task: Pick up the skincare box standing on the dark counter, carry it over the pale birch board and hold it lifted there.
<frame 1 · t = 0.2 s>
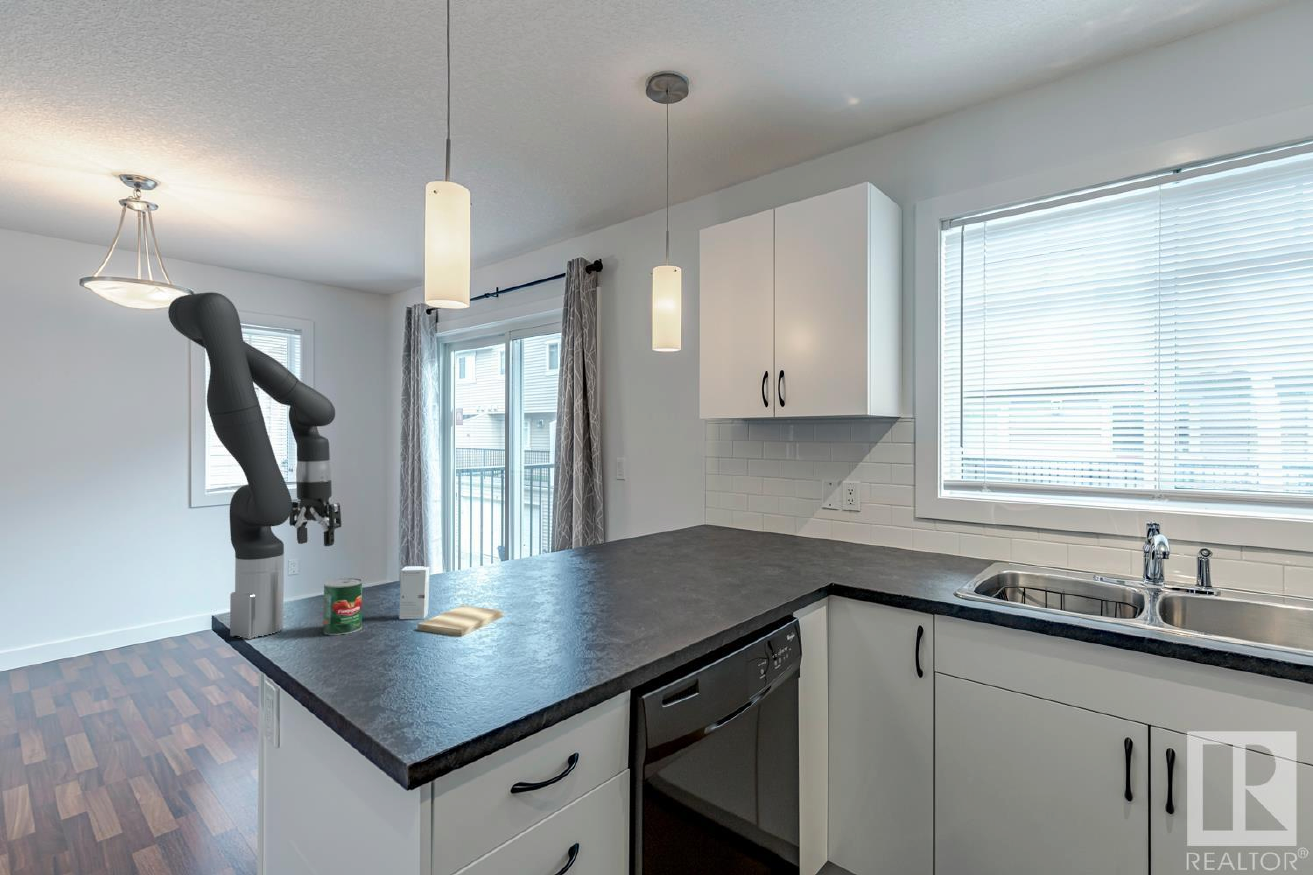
hand: (315, 544, 151), 17 cm above the countertop, tool pointing down, fingers open, 8 cm apart
birch board: (461, 623, 146), on the countertop
skincare box: (414, 617, 151), on the countertop
canned tomato: (342, 630, 140), on the countertop
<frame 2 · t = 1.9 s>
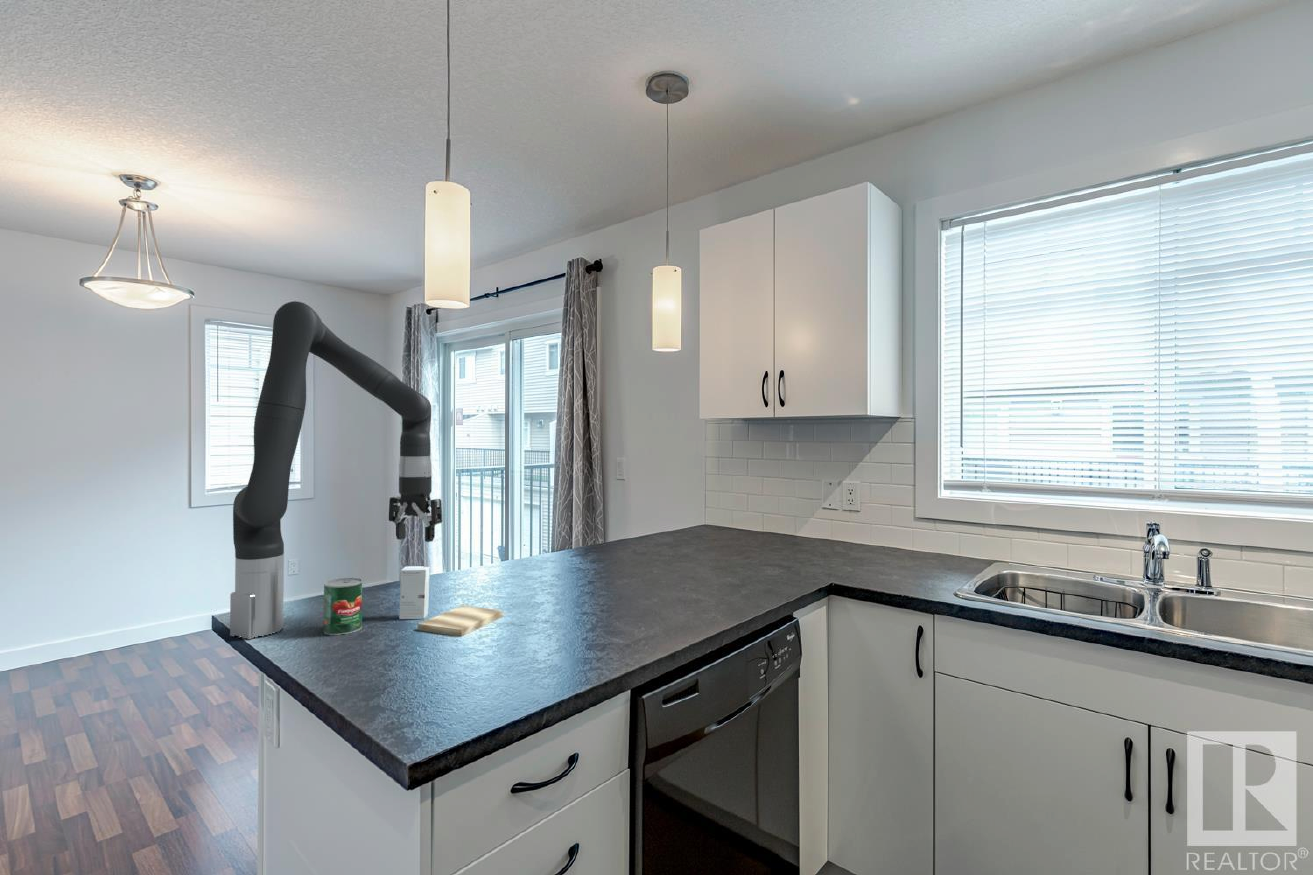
hand: (415, 540, 151), 19 cm above the countertop, tool pointing down, fingers open, 8 cm apart
nothing on the countertop moved.
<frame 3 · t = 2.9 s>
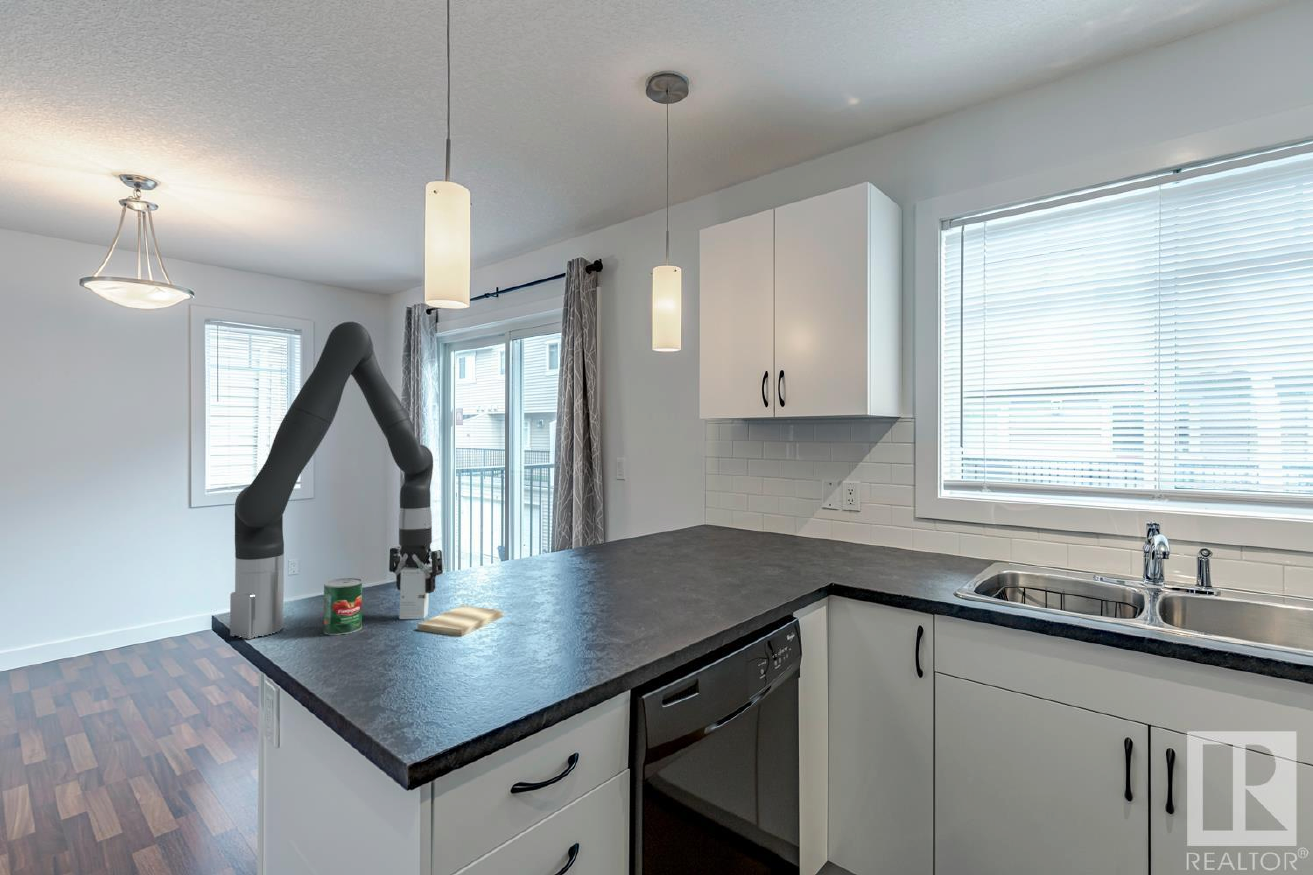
hand: (415, 591, 151), 6 cm above the countertop, tool pointing down, fingers open, 8 cm apart
nothing on the countertop moved.
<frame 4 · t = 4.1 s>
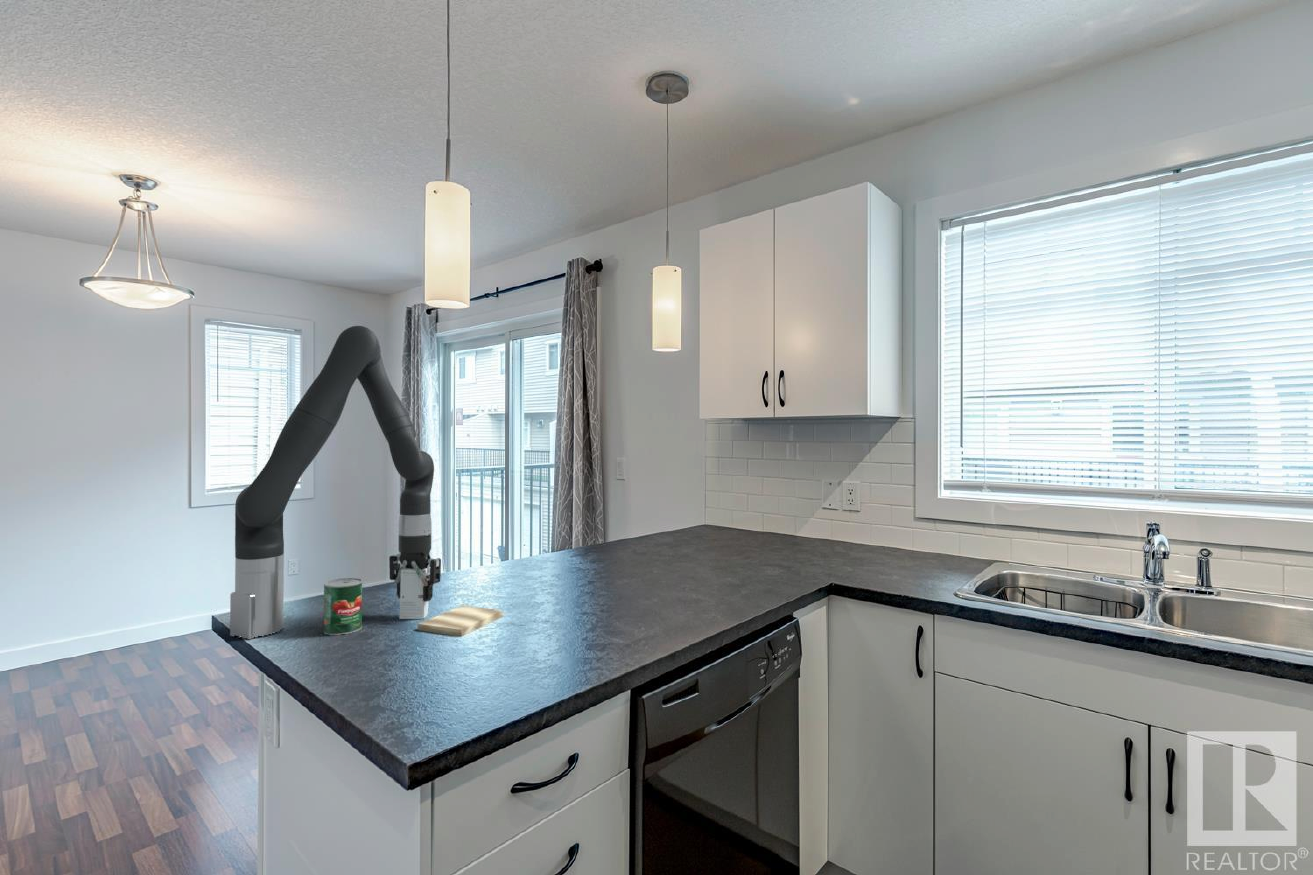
hand: (414, 599, 151), 4 cm above the countertop, tool pointing down, fingers closed on skincare box, 7 cm apart
skincare box: (414, 617, 151), on the countertop, touching gripper
everything else where it was.
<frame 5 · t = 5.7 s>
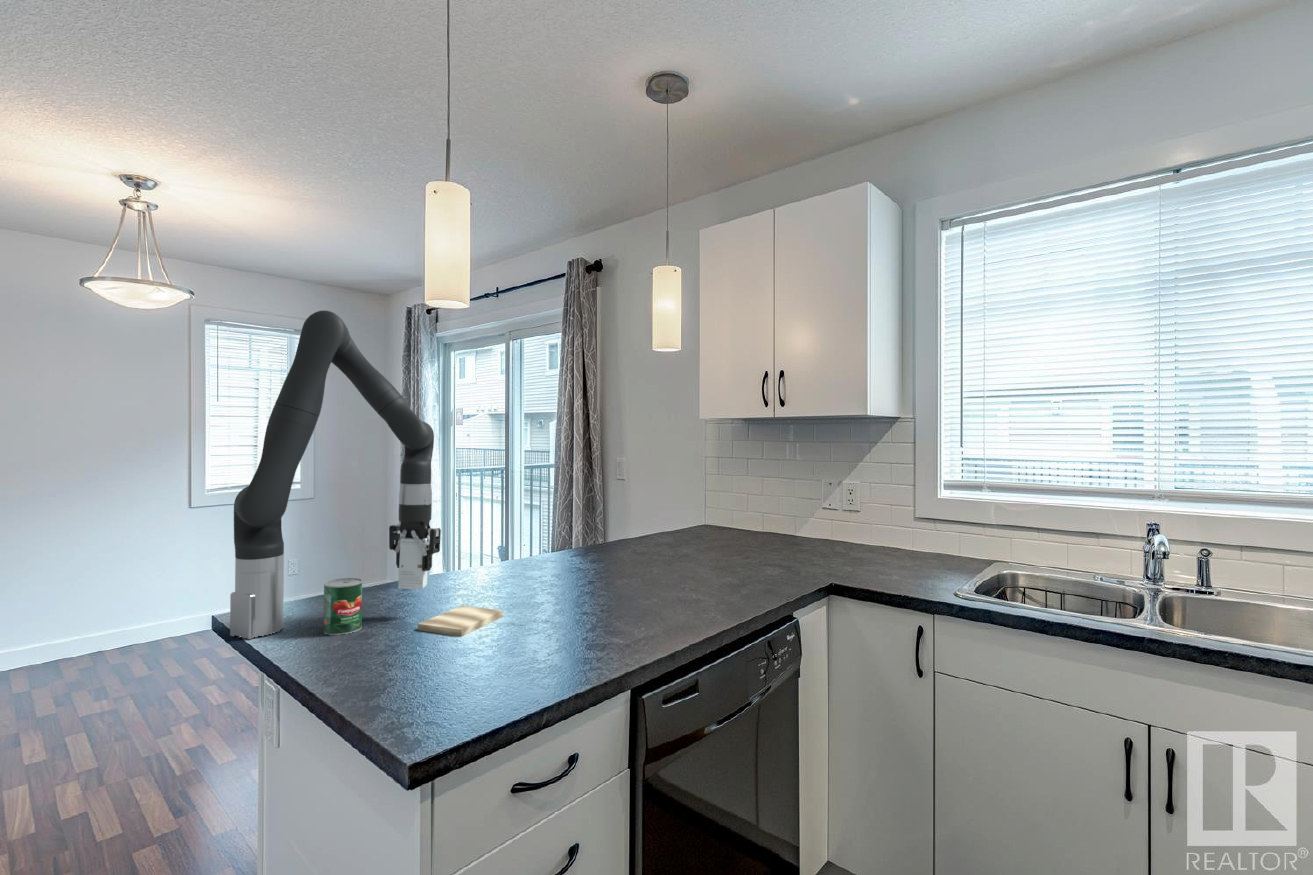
hand: (413, 568, 150), 12 cm above the countertop, tool pointing down, fingers closed on skincare box, 7 cm apart
skincare box: (413, 587, 150), point 7 cm above the countertop, touching gripper
everything else where it was.
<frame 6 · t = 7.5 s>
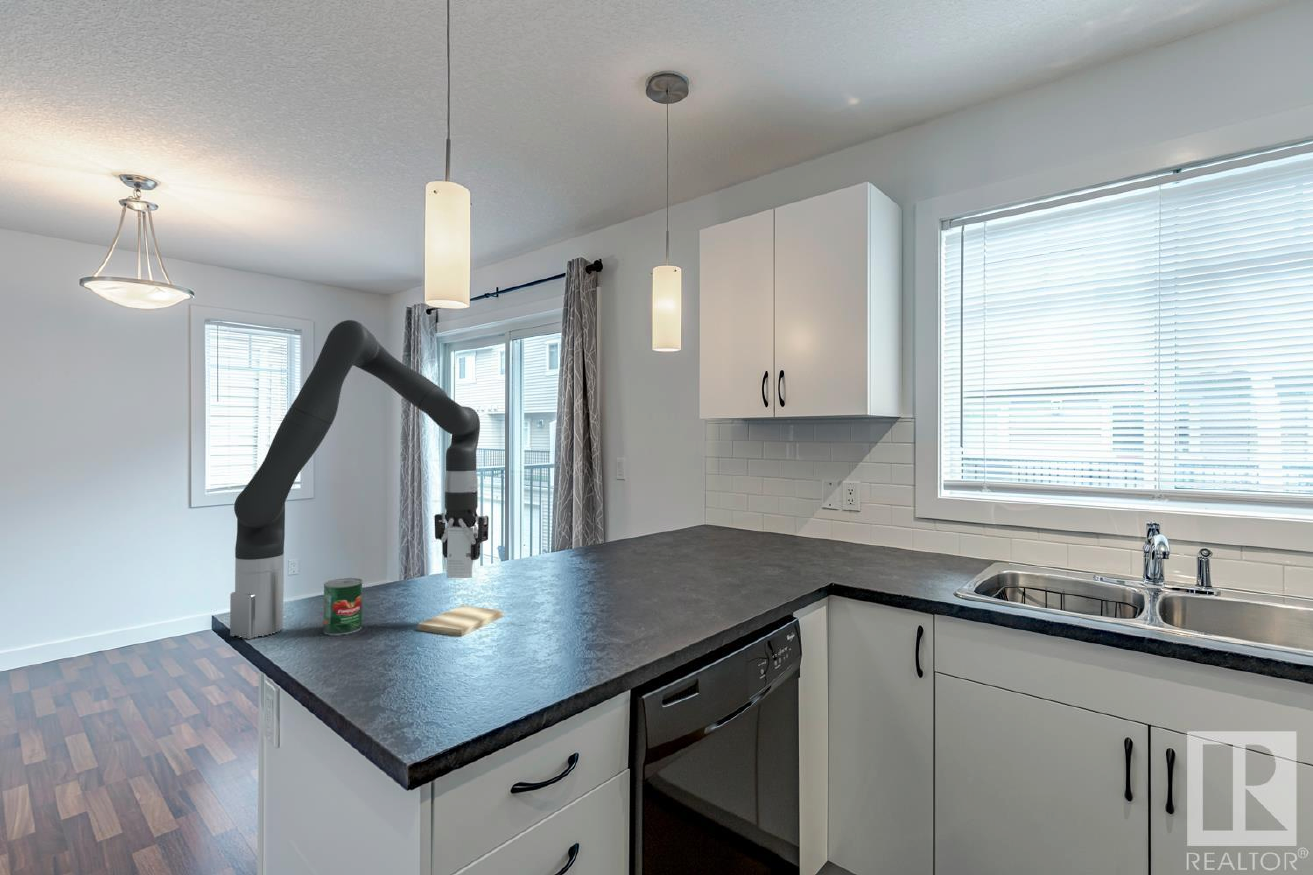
hand: (461, 558, 147), 15 cm above the countertop, tool pointing down, fingers closed on skincare box, 7 cm apart
skincare box: (461, 577, 147), point 11 cm above the countertop, touching gripper
everything else where it was.
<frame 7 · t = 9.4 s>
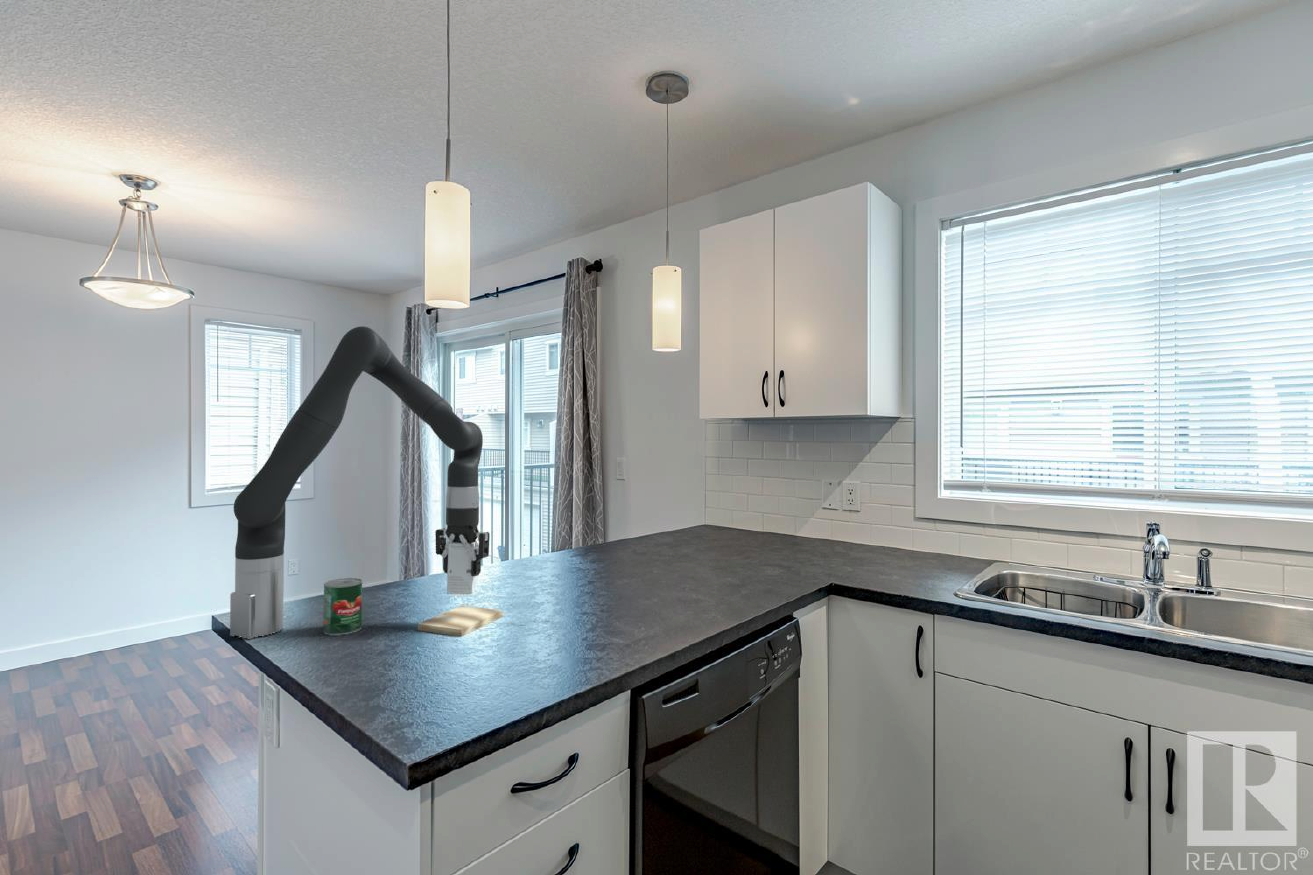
hand: (461, 574, 146), 12 cm above the countertop, tool pointing down, fingers closed on skincare box, 7 cm apart
skincare box: (461, 593, 146), point 7 cm above the countertop, touching gripper
everything else where it was.
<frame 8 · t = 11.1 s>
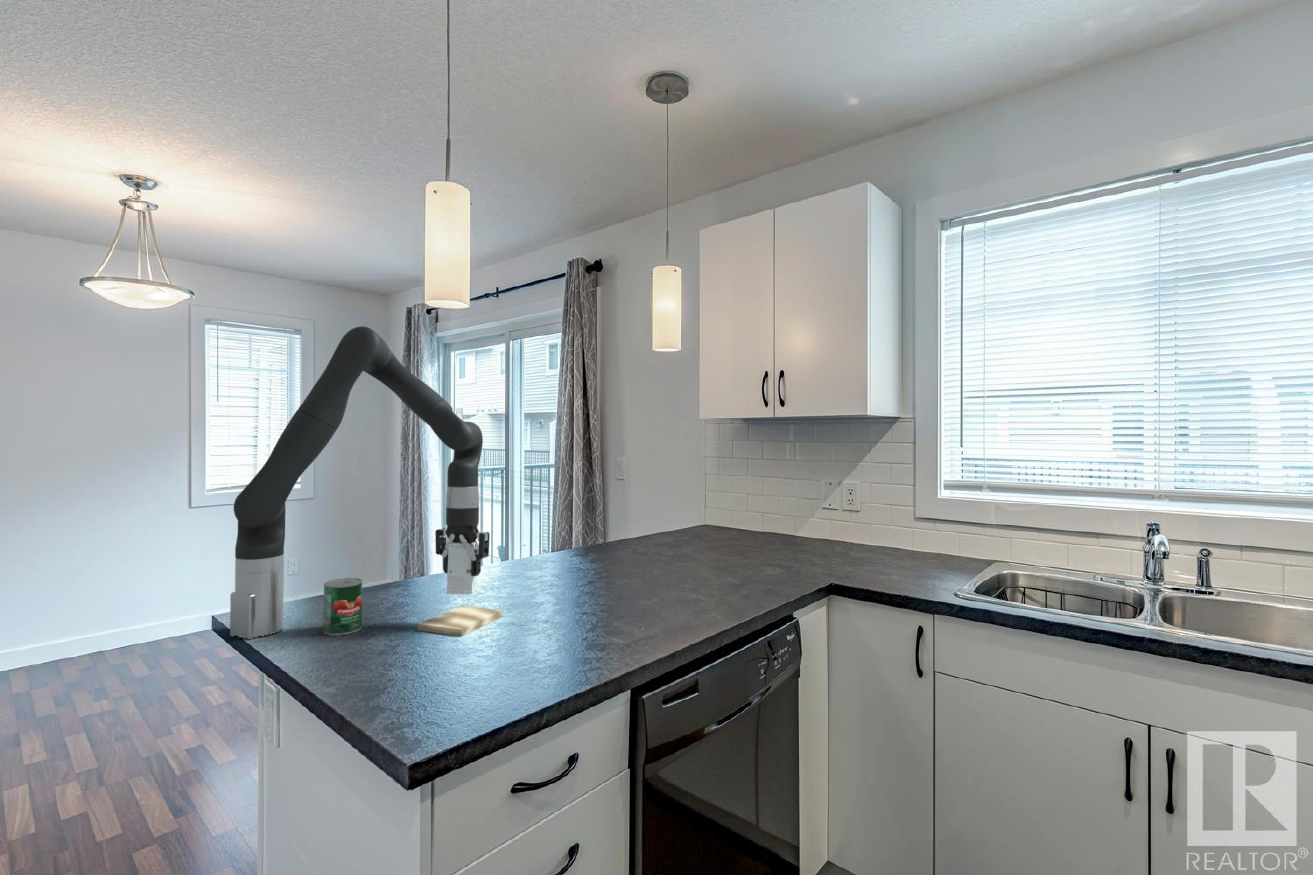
hand: (461, 574, 146), 12 cm above the countertop, tool pointing down, fingers closed on skincare box, 7 cm apart
skincare box: (461, 593, 146), point 7 cm above the countertop, touching gripper
everything else where it was.
at the end: the gripper is holding skincare box; skincare box point 7.1 cm above the countertop; skincare box inside the target area (0.1 cm from its centre), point 7.1 cm above the countertop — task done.
